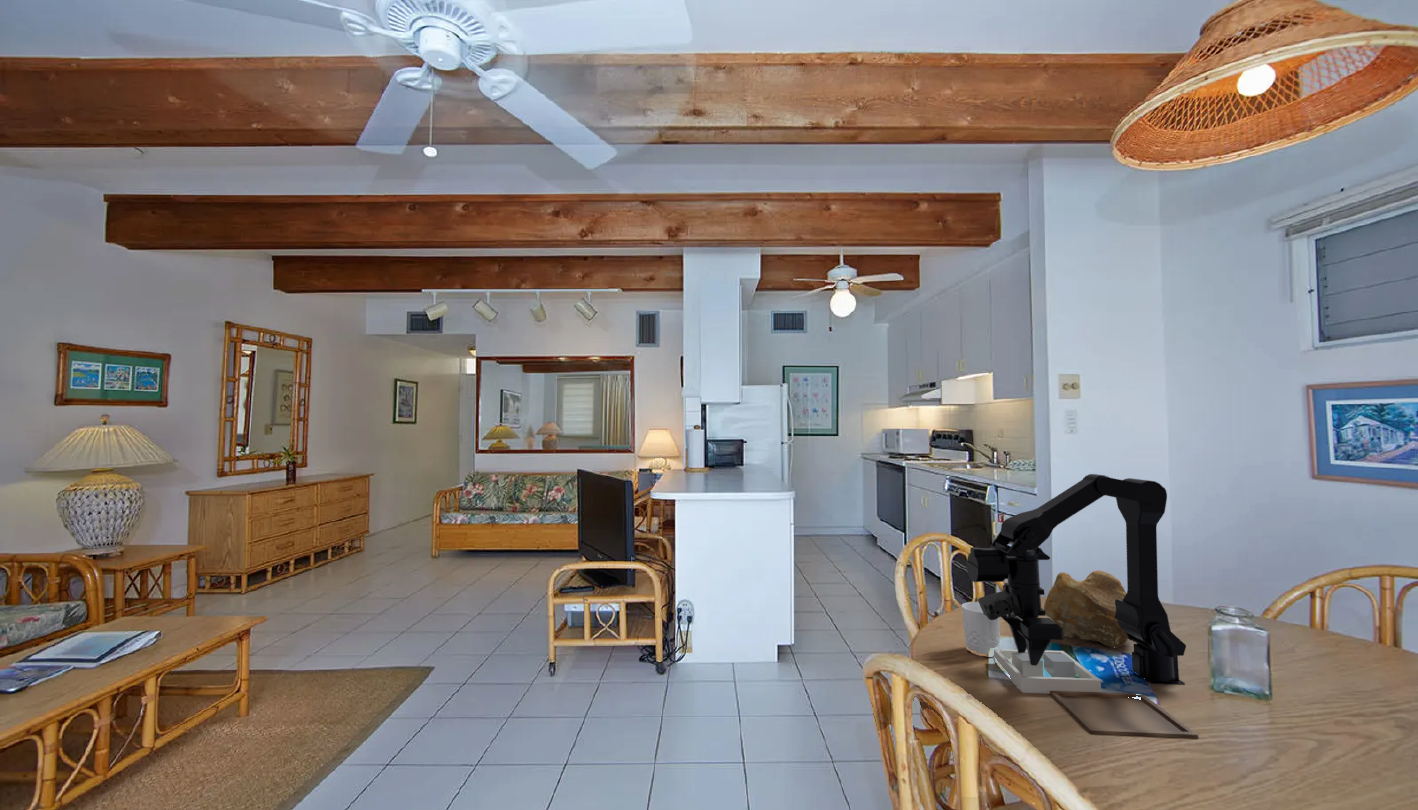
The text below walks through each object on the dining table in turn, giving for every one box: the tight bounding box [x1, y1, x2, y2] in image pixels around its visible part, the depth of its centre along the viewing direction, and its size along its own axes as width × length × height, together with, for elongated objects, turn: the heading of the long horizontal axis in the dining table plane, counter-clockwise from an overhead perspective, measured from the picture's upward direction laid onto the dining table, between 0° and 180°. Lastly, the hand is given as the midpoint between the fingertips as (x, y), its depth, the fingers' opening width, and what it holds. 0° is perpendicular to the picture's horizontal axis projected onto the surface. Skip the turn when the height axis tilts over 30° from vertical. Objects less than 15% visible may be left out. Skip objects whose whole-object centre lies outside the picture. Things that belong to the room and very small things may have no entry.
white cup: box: [961, 601, 1001, 654], centre depth 127 cm, size 8×8×10 cm
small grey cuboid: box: [1012, 653, 1044, 677], centre depth 112 cm, size 4×4×4 cm
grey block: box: [1043, 653, 1075, 678], centre depth 111 cm, size 4×4×4 cm
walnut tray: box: [1049, 691, 1199, 739], centre depth 97 cm, size 16×14×1 cm
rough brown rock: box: [1043, 570, 1129, 649], centre depth 133 cm, size 23×17×15 cm
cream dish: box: [993, 648, 1102, 695], centre depth 112 cm, size 14×14×3 cm
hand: (1027, 659), depth 112 cm, fingers open, 5 cm apart
